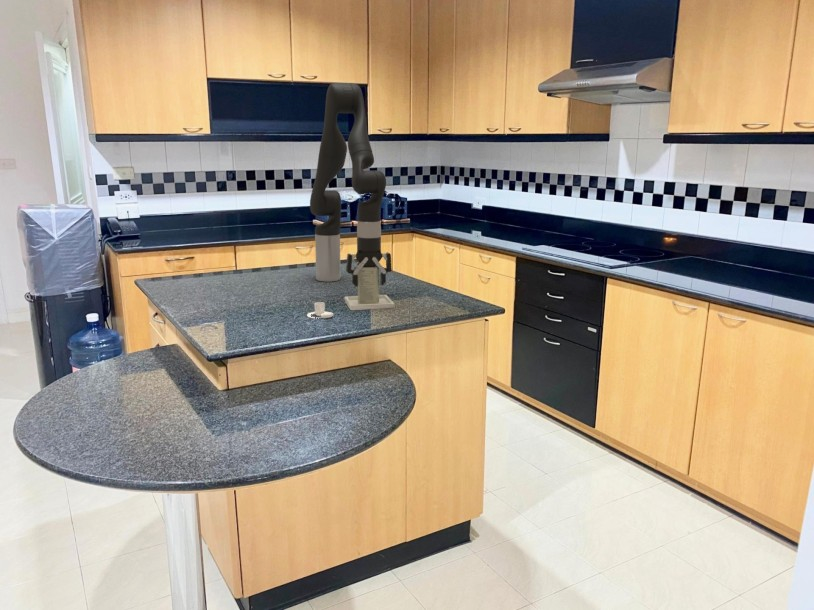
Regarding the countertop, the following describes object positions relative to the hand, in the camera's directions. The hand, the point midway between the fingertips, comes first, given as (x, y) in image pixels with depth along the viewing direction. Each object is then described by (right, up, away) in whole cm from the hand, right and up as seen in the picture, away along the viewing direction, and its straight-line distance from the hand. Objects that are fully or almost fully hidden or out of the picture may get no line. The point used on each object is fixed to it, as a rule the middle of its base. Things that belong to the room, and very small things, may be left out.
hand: (369, 285), depth 206 cm
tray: (0, -6, +2) cm, 6 cm away
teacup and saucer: (-15, -11, -14) cm, 23 cm away
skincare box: (0, -6, +2) cm, 6 cm away
